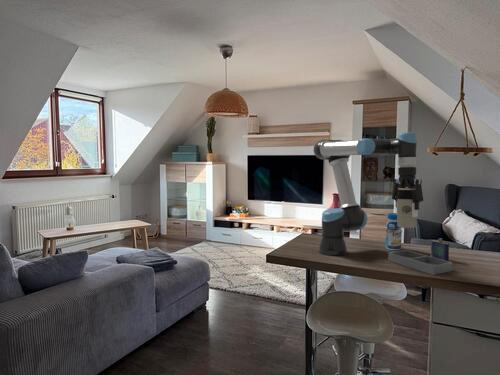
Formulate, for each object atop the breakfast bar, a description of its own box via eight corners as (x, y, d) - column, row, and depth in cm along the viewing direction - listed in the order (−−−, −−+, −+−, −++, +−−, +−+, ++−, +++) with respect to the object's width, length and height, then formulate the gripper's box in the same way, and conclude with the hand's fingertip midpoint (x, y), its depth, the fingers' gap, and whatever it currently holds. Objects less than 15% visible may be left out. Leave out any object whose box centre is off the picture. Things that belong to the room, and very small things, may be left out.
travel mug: (400, 225, 158) (400, 187, 157) (418, 226, 153) (418, 188, 152) (394, 227, 152) (395, 188, 151) (413, 229, 147) (413, 188, 146)
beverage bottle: (392, 246, 192) (393, 212, 191) (404, 249, 184) (405, 214, 183) (382, 247, 188) (382, 213, 187) (393, 251, 181) (394, 215, 179)
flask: (429, 257, 169) (430, 236, 168) (433, 256, 170) (434, 236, 170) (446, 262, 161) (447, 240, 160) (450, 261, 162) (451, 240, 161)
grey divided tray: (388, 260, 164) (388, 252, 164) (406, 257, 170) (406, 249, 169) (433, 274, 142) (433, 266, 142) (452, 270, 148) (452, 262, 147)
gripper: (383, 167, 159) (383, 213, 161) (421, 166, 140) (420, 219, 141) (395, 167, 162) (395, 212, 163) (433, 166, 143) (432, 218, 144)
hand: (406, 215), depth 152 cm, fingers closed on travel mug, 8 cm apart
